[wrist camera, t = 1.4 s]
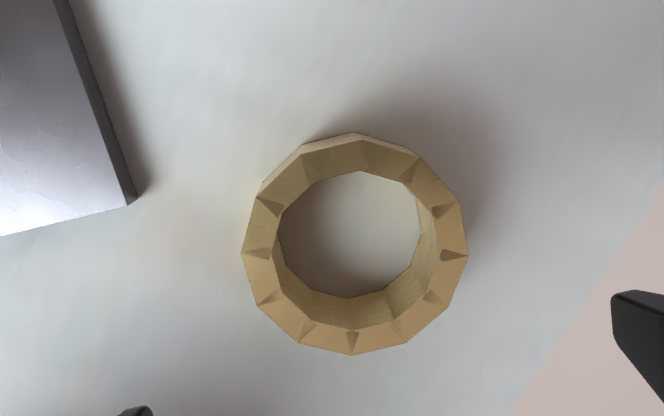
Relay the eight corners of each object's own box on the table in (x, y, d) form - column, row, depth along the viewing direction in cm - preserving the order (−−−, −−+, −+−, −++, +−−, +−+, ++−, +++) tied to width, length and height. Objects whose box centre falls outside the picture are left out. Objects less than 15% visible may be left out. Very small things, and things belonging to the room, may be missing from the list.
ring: (457, 294, 18) (480, 325, 15) (281, 336, 18) (277, 372, 16) (425, 114, 16) (445, 119, 14) (230, 161, 16) (217, 174, 14)
